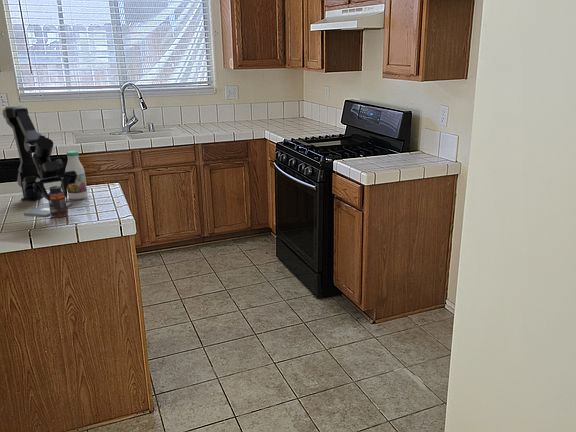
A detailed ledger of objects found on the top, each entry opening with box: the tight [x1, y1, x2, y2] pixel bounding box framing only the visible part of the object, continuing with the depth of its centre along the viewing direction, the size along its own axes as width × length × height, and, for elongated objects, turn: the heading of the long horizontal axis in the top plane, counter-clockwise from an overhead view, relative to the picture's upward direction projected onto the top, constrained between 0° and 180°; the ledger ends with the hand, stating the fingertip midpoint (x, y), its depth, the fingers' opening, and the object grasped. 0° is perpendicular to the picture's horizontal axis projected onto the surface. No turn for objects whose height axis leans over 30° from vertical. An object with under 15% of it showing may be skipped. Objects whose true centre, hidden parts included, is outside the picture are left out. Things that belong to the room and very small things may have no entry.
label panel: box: [23, 202, 73, 218], centre depth 202 cm, size 10×16×1 cm, turn 167°
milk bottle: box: [64, 150, 88, 200], centre depth 217 cm, size 8×8×20 cm
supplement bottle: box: [48, 185, 68, 218], centre depth 193 cm, size 6×6×11 cm
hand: (58, 198), depth 192 cm, fingers closed on supplement bottle, 6 cm apart
